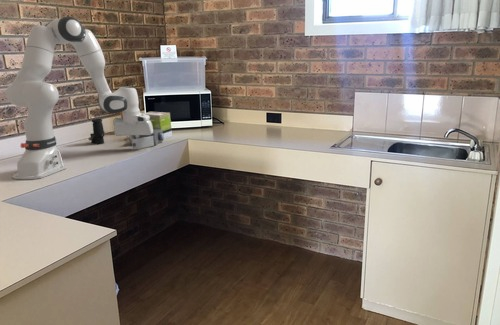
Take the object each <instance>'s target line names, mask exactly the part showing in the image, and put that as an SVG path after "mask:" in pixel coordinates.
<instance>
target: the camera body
mask: <svg viewBox="0 0 500 325" xmlns="http://www.w3.org/2000/svg"><path fill="white" fill-rule="evenodd" d="M139 136H140V137H139V138H144V137H149V136H154V138H155V145H154V146H157V145H158V144H160V143H162V142H163V141H164V140H165V139H164V134H163V132H162V129H153V133H152V134H151V135H139ZM136 138H137V137H135V135H133V139H136ZM163 139H164V140H163ZM129 141H130V145H131V146H132V141H131V139H130V138H129Z"/></svg>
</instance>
